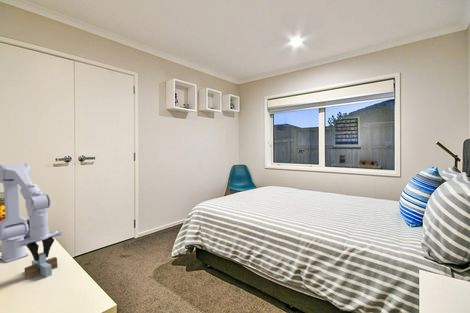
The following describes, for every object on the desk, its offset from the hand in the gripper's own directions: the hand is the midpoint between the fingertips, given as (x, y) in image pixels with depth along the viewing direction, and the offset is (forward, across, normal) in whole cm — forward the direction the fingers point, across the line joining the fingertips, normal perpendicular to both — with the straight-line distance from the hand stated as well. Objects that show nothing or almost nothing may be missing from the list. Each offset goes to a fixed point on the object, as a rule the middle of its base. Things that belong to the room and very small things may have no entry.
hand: (41, 258), depth 93 cm
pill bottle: (+6, +12, +48) cm, 50 cm away
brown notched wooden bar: (+6, 0, 0) cm, 6 cm away
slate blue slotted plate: (+6, 0, 0) cm, 6 cm away
